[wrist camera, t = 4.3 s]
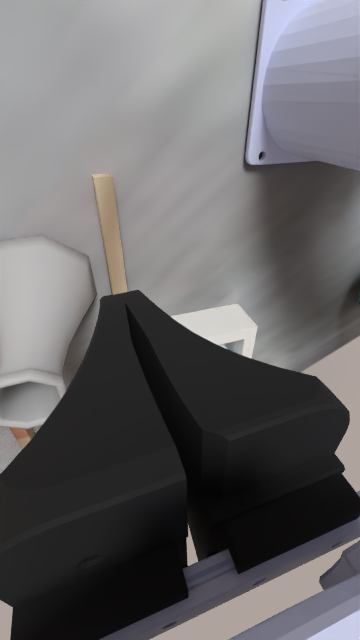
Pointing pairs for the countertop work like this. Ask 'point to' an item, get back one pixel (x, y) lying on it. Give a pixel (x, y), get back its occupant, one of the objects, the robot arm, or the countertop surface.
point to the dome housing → (223, 327)
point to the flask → (38, 324)
